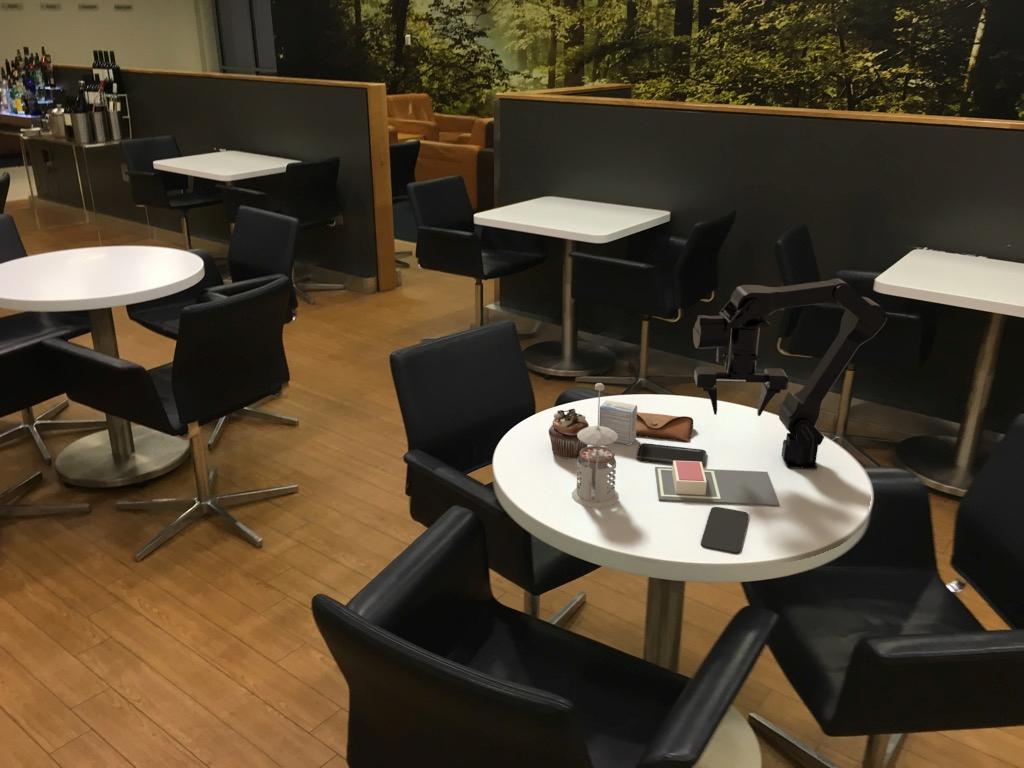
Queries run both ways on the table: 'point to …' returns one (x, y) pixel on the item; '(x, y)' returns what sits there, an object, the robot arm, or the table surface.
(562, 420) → the cupcake
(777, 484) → the table surface
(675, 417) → the sunglasses case
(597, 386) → the french press
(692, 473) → the card deck
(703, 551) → the table surface
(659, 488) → the mat
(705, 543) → the phone
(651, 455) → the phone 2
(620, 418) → the medicine box
